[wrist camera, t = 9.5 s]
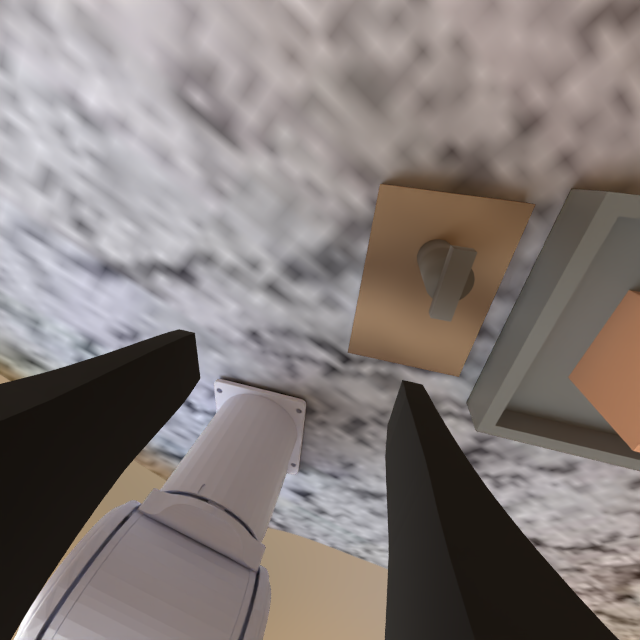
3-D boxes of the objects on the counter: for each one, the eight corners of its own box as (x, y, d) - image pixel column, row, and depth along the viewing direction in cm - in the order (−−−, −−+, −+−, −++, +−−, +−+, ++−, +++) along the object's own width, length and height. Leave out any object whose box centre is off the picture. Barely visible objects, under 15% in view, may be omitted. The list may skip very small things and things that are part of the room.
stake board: (454, 365, 18) (479, 436, 13) (350, 342, 19) (335, 401, 14) (524, 202, 14) (603, 217, 9) (380, 183, 15) (375, 187, 10)
